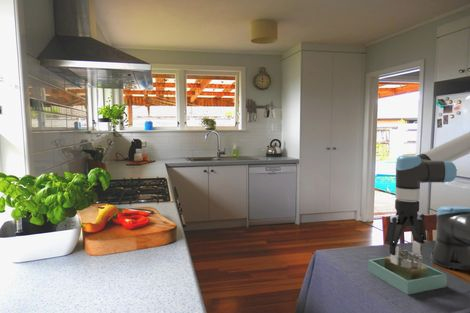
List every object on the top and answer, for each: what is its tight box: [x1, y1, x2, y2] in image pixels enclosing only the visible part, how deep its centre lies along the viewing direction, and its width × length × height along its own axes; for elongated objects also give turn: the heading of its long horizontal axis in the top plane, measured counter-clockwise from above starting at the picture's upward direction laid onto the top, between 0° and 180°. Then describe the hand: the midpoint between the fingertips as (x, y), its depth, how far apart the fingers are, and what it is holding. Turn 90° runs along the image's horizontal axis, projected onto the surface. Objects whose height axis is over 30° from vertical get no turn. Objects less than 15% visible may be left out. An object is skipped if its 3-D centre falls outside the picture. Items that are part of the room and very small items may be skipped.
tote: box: [367, 256, 448, 296], centre depth 114 cm, size 17×19×5 cm
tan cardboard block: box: [385, 255, 428, 281], centre depth 114 cm, size 7×12×6 cm, turn 17°
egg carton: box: [389, 247, 424, 268], centre depth 113 cm, size 11×8×4 cm
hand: (405, 261), depth 113 cm, fingers open, 9 cm apart
